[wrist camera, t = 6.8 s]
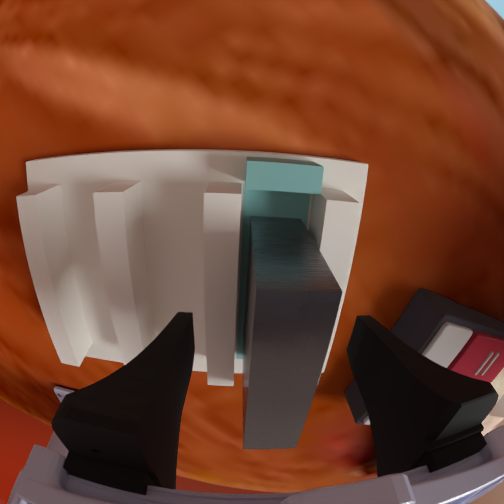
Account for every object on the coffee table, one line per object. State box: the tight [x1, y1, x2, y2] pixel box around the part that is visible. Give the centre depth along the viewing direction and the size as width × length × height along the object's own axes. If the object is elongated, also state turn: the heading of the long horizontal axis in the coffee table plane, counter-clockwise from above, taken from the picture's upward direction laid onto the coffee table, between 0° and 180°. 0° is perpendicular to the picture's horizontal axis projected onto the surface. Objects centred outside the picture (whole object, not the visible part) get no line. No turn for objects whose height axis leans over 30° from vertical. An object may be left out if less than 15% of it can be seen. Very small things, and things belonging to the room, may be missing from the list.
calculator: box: [344, 288, 504, 424], centre depth 20 cm, size 11×4×15 cm
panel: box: [243, 216, 343, 449], centre depth 13 cm, size 9×2×7 cm, turn 177°
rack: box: [16, 149, 368, 386], centre depth 15 cm, size 14×19×4 cm
